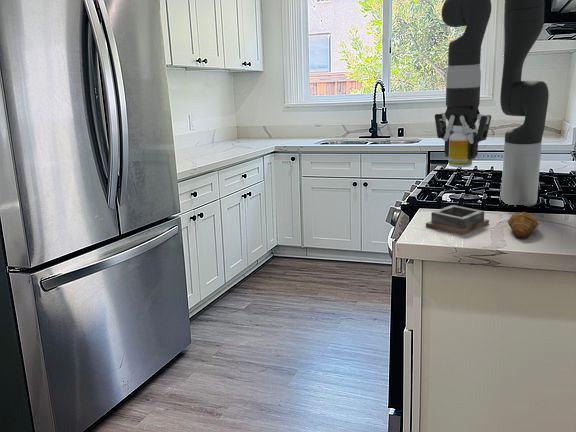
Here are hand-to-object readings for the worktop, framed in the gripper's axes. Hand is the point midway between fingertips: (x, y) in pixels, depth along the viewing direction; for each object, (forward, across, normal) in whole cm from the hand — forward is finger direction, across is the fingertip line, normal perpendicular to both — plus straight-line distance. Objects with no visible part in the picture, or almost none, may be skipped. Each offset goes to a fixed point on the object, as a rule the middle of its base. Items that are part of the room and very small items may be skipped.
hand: (460, 157), depth 124 cm
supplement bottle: (+2, 0, 0) cm, 2 cm away
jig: (+17, 0, 0) cm, 17 cm away
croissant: (+18, -14, -6) cm, 23 cm away
